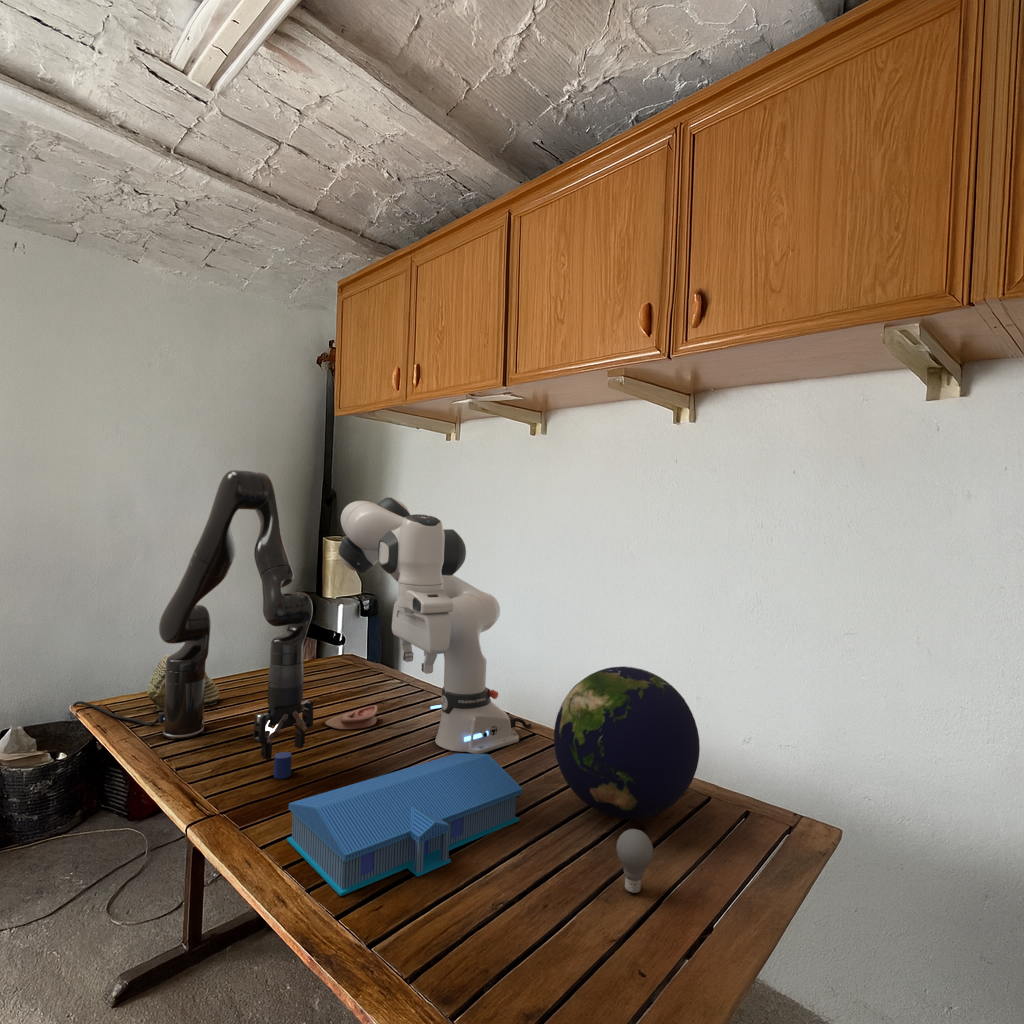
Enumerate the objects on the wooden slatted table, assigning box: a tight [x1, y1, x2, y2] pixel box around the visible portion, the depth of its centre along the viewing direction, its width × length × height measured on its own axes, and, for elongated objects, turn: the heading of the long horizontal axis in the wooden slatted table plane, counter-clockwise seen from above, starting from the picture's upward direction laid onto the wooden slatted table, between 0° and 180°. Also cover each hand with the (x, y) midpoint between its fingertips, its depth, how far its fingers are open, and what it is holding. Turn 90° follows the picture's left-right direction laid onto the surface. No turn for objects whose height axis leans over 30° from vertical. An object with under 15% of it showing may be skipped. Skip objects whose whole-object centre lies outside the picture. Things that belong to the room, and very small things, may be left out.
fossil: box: [147, 654, 221, 712], centre depth 185 cm, size 9×18×15 cm, turn 132°
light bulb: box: [615, 828, 654, 894], centre depth 106 cm, size 6×6×10 cm
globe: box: [553, 665, 700, 820], centre depth 133 cm, size 30×30×30 cm
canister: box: [273, 751, 293, 780], centre depth 143 cm, size 4×4×5 cm
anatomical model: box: [324, 704, 378, 730], centre depth 177 cm, size 13×4×12 cm
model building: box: [286, 752, 524, 897], centre depth 121 cm, size 39×24×10 cm, turn 132°
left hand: (283, 753), depth 143 cm, fingers open, 8 cm apart
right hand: (417, 666), depth 126 cm, fingers open, 8 cm apart
